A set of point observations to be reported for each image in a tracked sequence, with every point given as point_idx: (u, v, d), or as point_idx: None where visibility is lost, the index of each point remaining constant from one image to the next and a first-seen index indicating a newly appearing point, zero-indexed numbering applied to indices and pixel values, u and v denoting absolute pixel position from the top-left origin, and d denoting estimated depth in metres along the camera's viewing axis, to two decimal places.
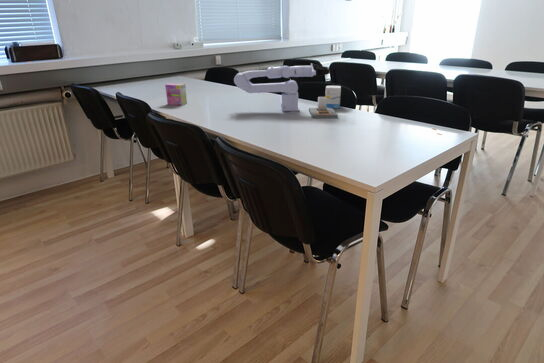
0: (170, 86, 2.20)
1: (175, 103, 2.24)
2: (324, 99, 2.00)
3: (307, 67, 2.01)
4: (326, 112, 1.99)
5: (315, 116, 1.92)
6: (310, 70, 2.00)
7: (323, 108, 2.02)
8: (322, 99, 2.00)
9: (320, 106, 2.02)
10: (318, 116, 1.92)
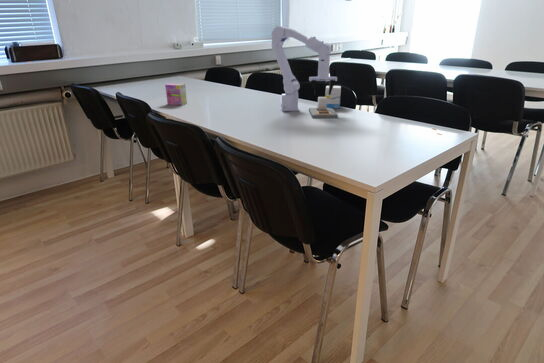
0: (170, 86, 2.20)
1: (175, 103, 2.24)
2: (324, 99, 2.00)
3: (320, 73, 1.95)
4: (326, 112, 1.99)
5: (315, 116, 1.92)
6: (318, 76, 1.97)
7: (323, 108, 2.02)
8: (322, 99, 2.00)
9: (320, 106, 2.02)
10: (318, 116, 1.92)
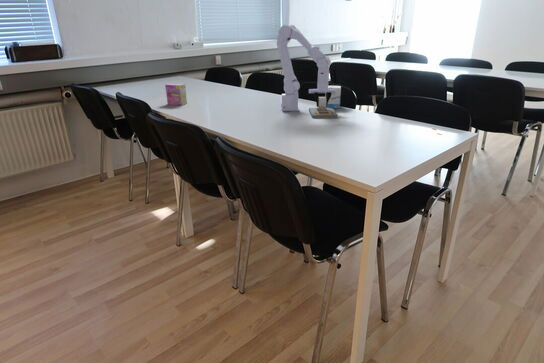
0: (170, 86, 2.20)
1: (175, 103, 2.24)
2: (324, 99, 2.00)
3: (320, 86, 1.97)
4: (326, 112, 1.99)
5: (315, 116, 1.92)
6: (317, 88, 1.99)
7: (323, 108, 2.02)
8: (322, 99, 2.00)
9: (320, 106, 2.02)
10: (318, 116, 1.92)
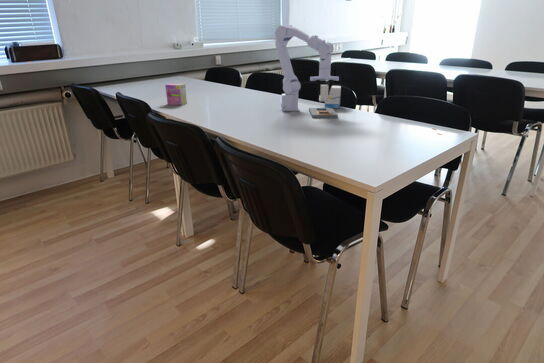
0: (170, 86, 2.20)
1: (175, 103, 2.24)
2: (326, 87, 1.94)
3: (321, 73, 1.91)
4: (326, 112, 1.99)
5: (315, 116, 1.92)
6: (319, 75, 1.93)
7: (325, 96, 1.96)
8: (324, 87, 1.94)
9: (322, 94, 1.95)
10: (318, 116, 1.92)
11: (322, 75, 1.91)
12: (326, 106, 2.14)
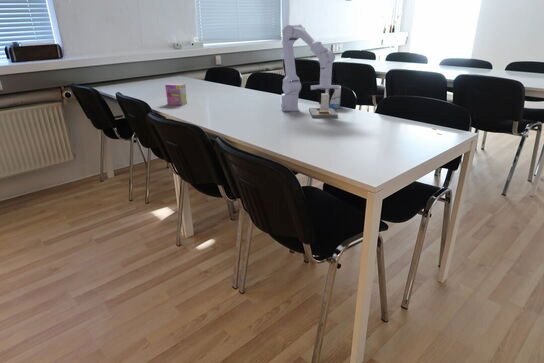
0: (170, 86, 2.20)
1: (175, 103, 2.24)
2: (327, 96, 1.91)
3: (322, 82, 1.88)
4: (326, 112, 1.99)
5: (315, 116, 1.92)
6: (320, 84, 1.90)
7: (325, 105, 1.93)
8: (325, 96, 1.91)
9: (323, 103, 1.92)
10: (318, 116, 1.92)
11: (323, 84, 1.88)
12: None
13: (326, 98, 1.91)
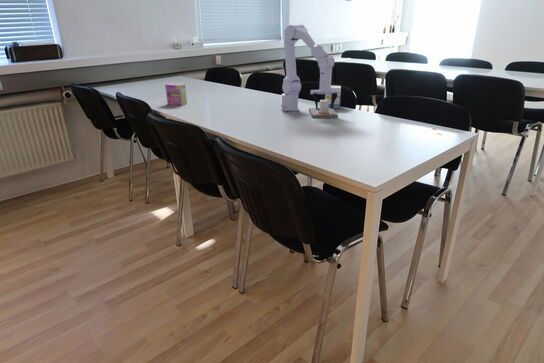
0: (170, 86, 2.20)
1: (175, 103, 2.24)
2: (326, 102, 1.92)
3: (322, 86, 1.89)
4: None
5: (315, 116, 1.92)
6: (319, 89, 1.91)
7: (325, 111, 1.94)
8: (324, 102, 1.92)
9: (323, 110, 1.94)
10: (318, 116, 1.92)
11: (322, 89, 1.89)
12: None
13: (326, 104, 1.93)
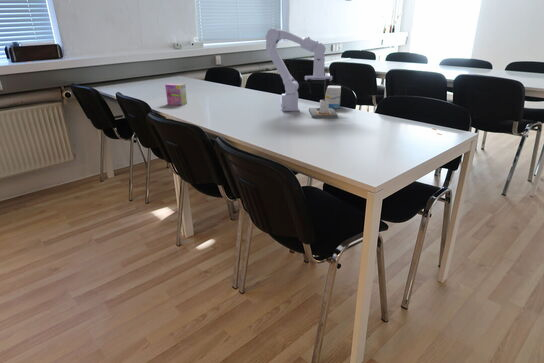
0: (170, 86, 2.20)
1: (175, 103, 2.24)
2: (326, 102, 1.92)
3: (315, 72, 1.99)
4: None
5: (315, 116, 1.92)
6: (313, 75, 2.00)
7: (325, 111, 1.94)
8: (324, 102, 1.92)
9: (323, 110, 1.94)
10: (318, 116, 1.92)
11: (316, 74, 1.99)
12: None
13: (326, 104, 1.93)
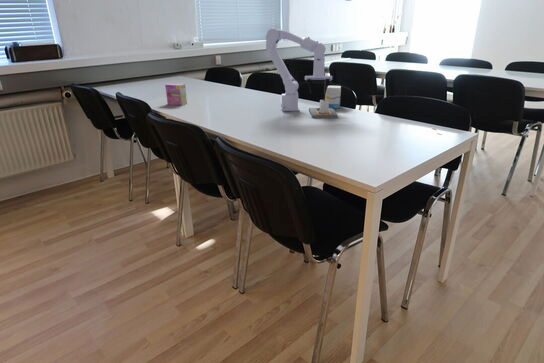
0: (170, 86, 2.20)
1: (175, 103, 2.24)
2: (326, 102, 1.92)
3: (315, 72, 1.99)
4: None
5: (315, 116, 1.92)
6: (313, 75, 2.00)
7: (325, 111, 1.94)
8: (324, 102, 1.92)
9: (323, 110, 1.94)
10: (318, 116, 1.92)
11: (316, 74, 1.99)
12: None
13: (326, 104, 1.93)
